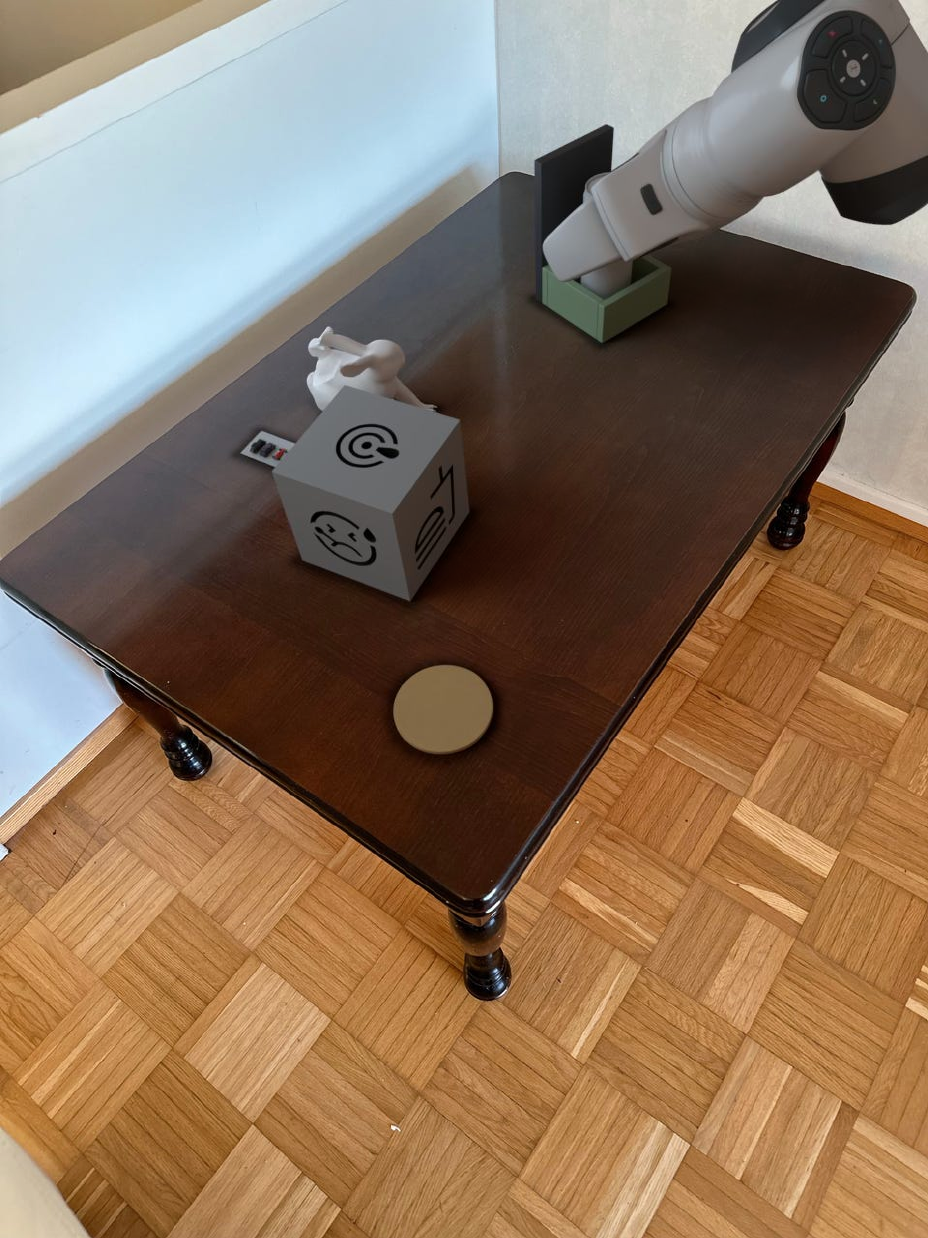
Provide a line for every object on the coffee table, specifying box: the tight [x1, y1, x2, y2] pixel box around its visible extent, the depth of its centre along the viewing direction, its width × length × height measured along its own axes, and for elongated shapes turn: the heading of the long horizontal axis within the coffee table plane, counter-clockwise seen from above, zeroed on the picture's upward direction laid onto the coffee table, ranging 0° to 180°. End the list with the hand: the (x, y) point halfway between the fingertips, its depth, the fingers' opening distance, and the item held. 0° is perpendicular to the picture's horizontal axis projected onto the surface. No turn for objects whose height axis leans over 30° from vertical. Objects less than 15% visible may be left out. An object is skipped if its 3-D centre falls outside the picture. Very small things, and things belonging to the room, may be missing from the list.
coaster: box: [393, 664, 494, 755], centre depth 64 cm, size 7×7×1 cm
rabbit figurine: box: [306, 326, 438, 413], centre depth 78 cm, size 12×8×10 cm, turn 62°
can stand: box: [533, 123, 672, 344], centre depth 83 cm, size 10×9×14 cm
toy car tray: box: [240, 430, 296, 468], centre depth 79 cm, size 3×8×1 cm, turn 60°
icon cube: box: [271, 385, 470, 602], centre depth 69 cm, size 10×10×10 cm
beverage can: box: [581, 172, 633, 300], centre depth 84 cm, size 5×5×12 cm
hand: (603, 239), depth 84 cm, fingers open, 5 cm apart
